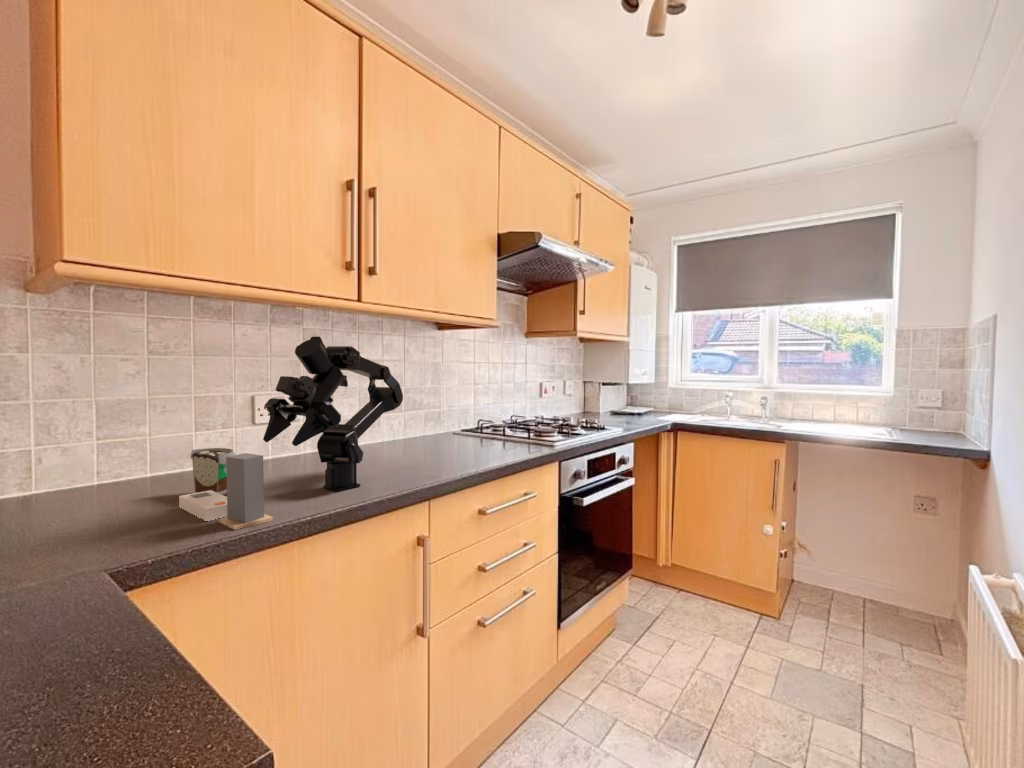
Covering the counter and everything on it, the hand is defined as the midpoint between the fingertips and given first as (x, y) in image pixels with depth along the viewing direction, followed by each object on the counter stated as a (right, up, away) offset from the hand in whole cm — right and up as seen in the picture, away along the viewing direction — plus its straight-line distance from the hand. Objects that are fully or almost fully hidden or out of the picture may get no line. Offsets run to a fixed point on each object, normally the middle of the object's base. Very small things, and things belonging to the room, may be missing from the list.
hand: (278, 442), depth 102 cm
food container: (-19, -13, +11) cm, 26 cm away
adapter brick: (-2, -13, -9) cm, 16 cm away
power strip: (-15, -14, -1) cm, 20 cm away
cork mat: (-2, -14, -9) cm, 17 cm away
